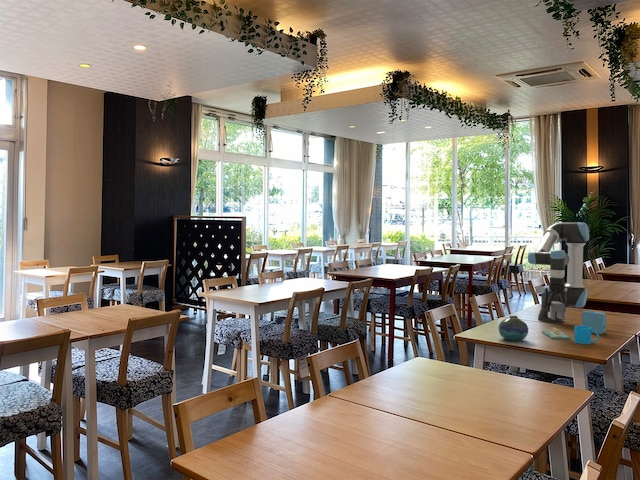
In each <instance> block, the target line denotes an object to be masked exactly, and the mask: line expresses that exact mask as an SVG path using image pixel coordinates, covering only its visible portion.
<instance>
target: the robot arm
mask: <svg viewBox="0 0 640 480" xmlns="http://www.w3.org/2000/svg"><path fill="white" fill-rule="evenodd" d="M589 240H590V230H589V226H588V224H587V223H585V222H580V221H579V222H577V221H575V222H574V221H571V222H570V221H569V222H564V221H561V222H560V221H559V222H555V223H553V224H551V225H550V226H548V227H546V228H545V230H544V232H543V233H542V239H541V240H540V242H539V243H538V245H537V247H536V249H535V251H529V252H528V254H527V263H528V264H529V265H530V264H531V265H535V266H536V265H538V266H539V265H542V266H550V267H549V276H550V277H549V284H548V285H544V286H542V287H541V293H540V294H541V296H540V297H541V299H540V300H541V303H540V304H541V305H540V306H541V307H540V310H539V312H538V316H537V319H538V321H541V322H545V323H563V322H564V320H562V319H560V318H558V317H557V312H555V320H553V319H551V311H552V307H551V306H550V305H551V302H561V303H563V304H565V313H566V309H567V307H569V308H570V307H571V308H572V307H573V308H584V307H585V305H586V302H587V299H588V293H589V292H588V289H586V286H585V285H584V284H583V267H584V266H583V265H584V246H585V245H587V242H588V241H589ZM558 241H565V245H566V246H567V253H566V250H562V249H552V248H553V247H554V245H555V243H557V242H558ZM566 266H567V272H566V273H567V274H566V275H567V276H566V283H565V278H564V277H565V271H566V270H565V269H566Z"/></svg>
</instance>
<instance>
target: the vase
mask: <svg viewBox="0 0 640 480" xmlns="http://www.w3.org/2000/svg"><path fill="white" fill-rule="evenodd" d="M497 329H498V332H499V335H500V336H501V337H502V338H503V339H504V340H506V341H509V342H520V341H523V340H525V339H526V338H527V336H528V334H529V327H528V325H527V323H526V322H525V321H523V320H522V319H521V318H519V317H518V315H513V314H512V315H509V317H507V318H505V319H502V320H501V321H500V323H499V324H498V327H497Z"/></svg>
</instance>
